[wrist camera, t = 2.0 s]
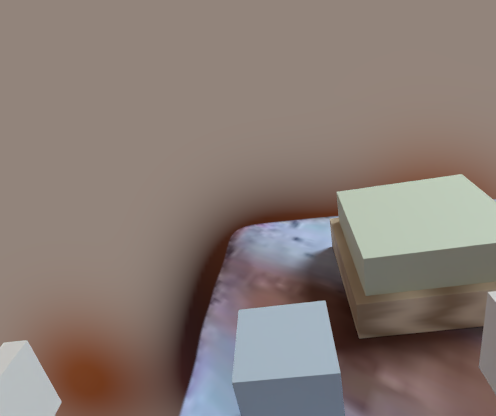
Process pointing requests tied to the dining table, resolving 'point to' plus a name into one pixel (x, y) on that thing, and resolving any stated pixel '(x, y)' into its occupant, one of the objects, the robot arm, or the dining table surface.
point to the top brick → (420, 234)
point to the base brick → (407, 301)
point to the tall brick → (287, 362)
